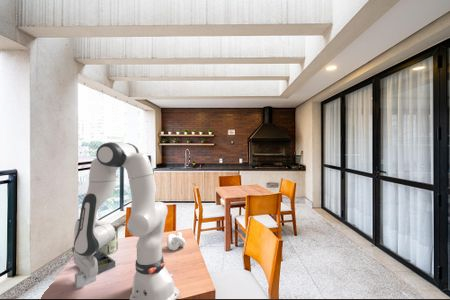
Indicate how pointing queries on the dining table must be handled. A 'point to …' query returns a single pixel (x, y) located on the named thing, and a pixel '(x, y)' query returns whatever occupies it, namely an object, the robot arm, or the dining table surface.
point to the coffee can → (111, 244)
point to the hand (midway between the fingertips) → (85, 278)
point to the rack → (103, 261)
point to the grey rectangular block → (82, 280)
